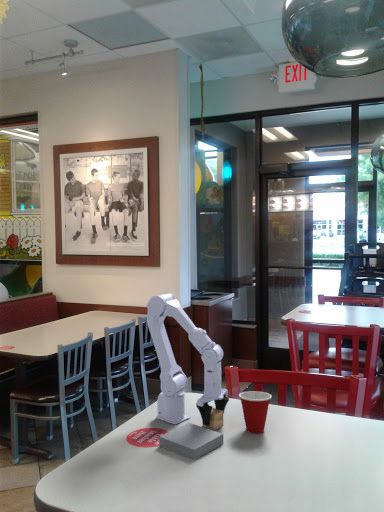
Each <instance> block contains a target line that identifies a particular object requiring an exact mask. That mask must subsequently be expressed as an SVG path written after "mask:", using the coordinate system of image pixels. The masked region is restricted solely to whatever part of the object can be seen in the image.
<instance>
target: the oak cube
mask: <svg viewBox="0 0 384 512" xmlns="http://www.w3.org/2000/svg"><path fill="white" fill-rule="evenodd" d="M223 426H224V414H223V411H222V410H218V409H216V407H213V408H212V410H211V414H210V424H209V425H208V426H207V425H204V424H203V423H202V427H204V428H207V429H210V430H213V431H215V430H217V429H219V428H220V427H223Z"/></svg>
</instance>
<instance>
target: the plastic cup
mask: <svg viewBox="0 0 384 512" xmlns="http://www.w3.org/2000/svg"><path fill="white" fill-rule="evenodd" d="M272 396H273V395H272V394H270V393H268V392H265V391H257V390H256V391H255V390H254V391H243V392H239V394H238V397H239V399H240V402H241V407H242V408H241V409H242V413H243V420H244V422H245V423H244V424H245V428H246V432H249V433H250V434H262V433H264V431H265V427H266V422H267V417H268V411H269V406H270V401H271V399H272Z"/></svg>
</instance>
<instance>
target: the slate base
mask: <svg viewBox="0 0 384 512" xmlns="http://www.w3.org/2000/svg"><path fill="white" fill-rule="evenodd" d="M158 438H159V439H158V440H159V441H158V445H159V447H160V448H163V449H165V450H169V451H170V452H172V453H175V454H177V455H180V456H183V457H186V458H188V459H190V460H191V459H192V460H194V461H195V460H197V459H199V458H201V457H202V456H204V455H206V454H208V453H210V452H211V451H213V450H214V449H216V448H218V447H219V446H222V445H223V444H224V433H222V432H218V431H215V430H213V429H210V428H207V427H204V426H201V425H197V424H194V423H193V422H192V423H191V422H187V423H185V424H183V425H181V426H178V427H177V428H175V429H173V430H170V431H168V432H166V433H164V434H162V435H160V436H159V437H158Z"/></svg>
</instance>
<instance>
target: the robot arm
mask: <svg viewBox="0 0 384 512" xmlns="http://www.w3.org/2000/svg"><path fill="white" fill-rule="evenodd" d="M179 301H180V300H178V299H176V298H175V296H174V294H172V293H170V292H165V293H163V294H158V295H154V296H152V297H150V299H149V300H148V302H147V303H146V308H147V316H146V323H147V327H148V330H149V333H150V335H151V340H152V343H153V345H154V348H155V352H156V356H157V358H158V362H159V365H160V368H161V372H160V375H159V380H160V390H161V392H160V393H159V395H158V396H157V401H156V402H157V411H156V412H157V415H155V419H158V420H160V421H164V422H167V423H170V424H172V425H177V424H179V423H182V422H184V421H186V420H188V419H190V418H191V416H190V415H187V414H186V413H185V410H186V409H185V401H186V400H185V399H186V398H185V388H186V387H187V386H188V377H187V376H186V374H185V373H184V371H183V369H182V367H181V366H180V365H179V364H177V361H176V359H175V356H174V352H173V350H172V349H173V348H172V345H171V342H170V340H169V337H168V333H167V330H166V327H165V324H164V321H165V319H166V317H170V318H173V319H174V320H175V321H176V322H177V323H178V324H179V325H180V326H181V327H182V328H183V330H184V331H185V332H186V333H187V334H188V340H189V342H190V343H191V344H192V346H193V347H194V348H195V349H196V350H197V351H198V352H199V354H200V355H201V356H200V358H201V360H202V362H203V365H204V367H203V369H204V373H203V374H204V375H203V379H204V384H203V386H204V389H203V390H204V394H203V395H202V396H201V397H200V398H198V399H196V403H195V404H196V408H197V410H198V412H199V414H200V417H201V421H202V425H203V424H204V425H207V426H208V425H209V424H210V414H211V410H212V408H215V409H218V410H222V411H223V415H224V413H225V410H226V406H227V404H228V402H229V401H230V398H229V397H228V396H229V395H228V394H229V393H228V392H229V391H228V389H226V388H222V359H223V357H224V350H223V348H222V347H221V345H220V344H216V342H215V341H213V340H212V339H211V338H210V337H209V335H208V332H207V331H206V329H203V328H200V327H196V325H195V324H194V322H193V320H192V319H190V317H189V316H188V314H187V313H186V312H185V310H184V309H183V308H182V306H181V304H180V302H179ZM211 402H214V406H215V407H213V406H212V405H210V404H209V403H211Z"/></svg>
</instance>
